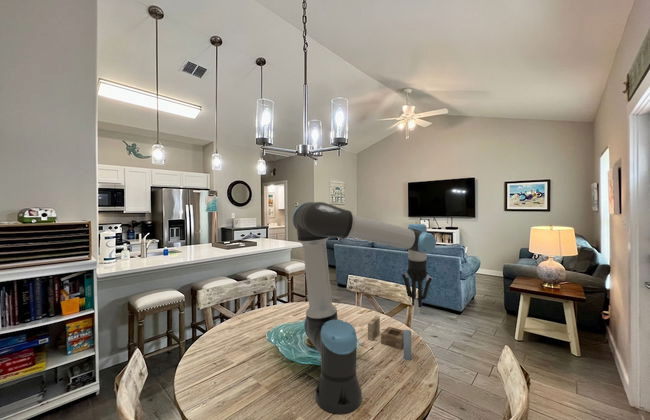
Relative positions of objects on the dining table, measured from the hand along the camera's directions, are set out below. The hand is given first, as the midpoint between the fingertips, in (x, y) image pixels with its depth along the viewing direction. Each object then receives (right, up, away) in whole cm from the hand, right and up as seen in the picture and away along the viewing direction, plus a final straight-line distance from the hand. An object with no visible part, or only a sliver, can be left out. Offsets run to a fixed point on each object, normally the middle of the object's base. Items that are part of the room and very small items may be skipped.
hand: (416, 313), depth 119 cm
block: (-8, -15, +6) cm, 18 cm away
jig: (-11, -16, +8) cm, 21 cm away
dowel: (-6, -17, -7) cm, 19 cm away
